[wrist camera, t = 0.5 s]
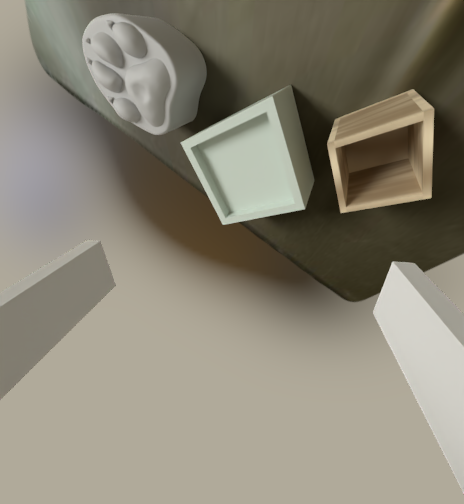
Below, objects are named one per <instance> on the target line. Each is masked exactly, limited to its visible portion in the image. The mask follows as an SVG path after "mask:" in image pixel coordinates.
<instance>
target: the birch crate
mask: <svg viewBox="0 0 464 504" xmlns="http://www.w3.org/2000/svg"><path fill="white" fill-rule="evenodd" d="M433 133H434V108H433V107H432V106H431V105H430V104H429V103H428V102H427V101H426V100H424V99H423V98H422V97H421V96H420V95H419V94H418V93H417V92H416V91H415V90H414V89H412V90H410V91H407V92H404V93H402V94H399V95H397V96H394V97H391V98H389V99H386V100H384V101H381V102H378V103H376V104H373V105H371V106H368V107H365V108H363V109H360V110H357V111H355V112H352V113H350V114H347V115H344V116H342V117H339V118H337V119H335V121H334V124H333V127H332V130H331V133H330V137H329V140H328V143H327V147H328V152H329V157H330V162H331V167H332V172H333V177H334V182H335V187H336V192H337V197H338V202H339V207H340V212H341V213H345V212H351V211H357V210H363V209H369V208H375V207H381V206H387V205H393V204H399V203H405V202H411V201H417V200H423V199H429V198H431V197H432V165H433Z"/></svg>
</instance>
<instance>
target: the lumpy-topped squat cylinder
mask: <svg viewBox="0 0 464 504" xmlns="http://www.w3.org/2000/svg"><path fill="white" fill-rule="evenodd" d="M82 43H83V51H84V56H85V59H86V62H87V65H88V68H89V70H90V72H91V74H92V77H93V79H94V81H95V83H96V84H97V86H98V88H99V89H100V91H101V92H102V94H103V95H104V96H105V98H106V99H107V100H108V102H109V103H110V104H111V106H112V107H113V108H114V109H115V111H116V112H117V114H118V115H119V116H120V117H121V118H123V119H124V120H126V121H130V122H132V123H133V124H135V125H137V126H138V127H140V128H142V129H144V130H145V131H147V132H149V133H152V134H154V135H162V134H165V133H167V132H169V131H172V130H174V129H176V128H178V127H180V126H183V125H185V124H187V123H189V122H191V121H193V120H194V119H195V117H196V115H197V110H198V103H199V97H200V94H201V91H202V89H203V87H204V84H205V81H206V76H207V69H206V64H205V61H204V58H203V56H202V54H201V52H200V50H199V49H198V48H197V46H196V45H195V44H194V43H193V42H192V41H191V40H189V39H188V38H187V37H186V36H185V35H183V34H182V33H181V32H180V31H178V30H177V29H176V28H174V27H173V26H171V25H169V24H168V23H166V22H164V21H162V20H160V19H158V18H152V17H143V16H134V15H126V14H117V13H113V14H106V15H102V16H99V17H96V18H95V19H93V20H92V21H91V22H90V23H89V25H88V26H87V28H86V30H85V32H84V34H83V40H82Z"/></svg>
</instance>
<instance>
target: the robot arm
mask: <svg viewBox="0 0 464 504" xmlns="http://www.w3.org/2000/svg"><path fill="white" fill-rule="evenodd" d="M115 286H116V285H115V282H114V279H113V276H112V273H111V270H110V268H109V265H108V262H107V259H106V256H105V253H104V250H103V247H102V244H101V241H91V240H86V241H85V242H83V243H81V244H80V245H78V246H77V247H75V248H73V249H71V250H70V251H68V252H66V253H65V254H63V255H61V256H60V257H58V258H56V259H55V260H53V261H51V262H50V263H49V264H46V265H45V266H43V267H42V268H40V269H38V270H37V271H35V272H33V273H32V274H30V275H28V276H27V277H25V278H23V279H22V280H20V281H18V282H17V283H15V284H13V285H12V286H10V287H8V288H7V289H5V290H4V291H2V292H0V400H1V398H3V397H4V396H5V394H7V393H8V392H9V391H10V390H11V389H12V388H13V387H14V386H15V385H16V383H18V382H19V381H20V380H21V379H22V378H23V377H24V376H25V375H26V374H27V373H28V372H29V371H30V370H31V369H32V368H33V367H34V366H35V365H36V364H37V363H38V362H39V361H40V360H41V359H42V358H43V357H44V356H45V355H46V354H47V353H48V352H49V351H50V350H51V349H52V348H53V347H54V346H55V345H56V344H57V343H58V342H59V341H60V340H61V339H62V338H63V337H64V336H65V335H66V334H67V333H68V332H69V331H70V330H71V329H72V328H73V327H74V326H75V325H76V324H77V323H78V322H79V321H80V320H81V319H82V318H83V317H84V316H85V315H86V314H87V313H88V312H89V311H90V310H91V309H93V308H94V307H95V306H96V305H97V303H98V302H100V301H101V300H102V299H103V298H104V297H105V296H106V295H107V294H108V293H109V292H110V290H112V289H113V288H114V287H115ZM373 314H374V316H375V318H376V320H377V322H378V324H379V326H380V328H381V330H382V332H383V334H384V336H385V338H386V340H387V342H388V344H389V346H390V348H391V350H392V352H393V354H394V356H395V358H396V360H397V362H398V364H399V366H400V368H401V370H402V372H403V374H404V376H405V378H406V380H407V382H408V384H409V386H410V388H411V390H412V392H413V394H414V396H415V398H416V400H417V402H418V404H419V406H420V408H421V410H422V412H423V414H424V416H425V418H426V420H427V422H428V424H429V426H430V428H431V430H432V432H433V434H434V436H435V438H436V440H437V442H438V444H439V446H440V448H441V450H442V452H443V454H444V456H445V458H446V460H447V462H448V464H449V466H450V468H451V470H452V472H453V474H454V476H455V478H456V480H457V482H458V484H459V486H460V487H461V490H462V492H463V494H464V313H463V312H462V311H461V310H460V309H459V308H458V307H457V306H456V305H455V304H454V303H453V302H452V301H451V300H450V299H449V298H448V297H447V296H446V295H445V294H444V293H443V292H442V291H441V290H440V289H439V288H438V287H437V286H436V285H435V284H434V283H433V282H432V281H431V280H430V279H429V278H428V277H427V276H426V275H425V274H424V273H423V271H422V270H421V269H420V268H419V267H418V266H417V265H416V264H415V263H407V262H392V265H391V267H390V270H389V272H388V275H387V277H386V280H385V282H384V285H383V288H382V290H381V293H380V295H379V298H378V300H377V303H376V305H375V308H374V311H373Z"/></svg>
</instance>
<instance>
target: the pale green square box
mask: <svg viewBox="0 0 464 504" xmlns="http://www.w3.org/2000/svg"><path fill="white" fill-rule="evenodd" d="M181 144H182V146H183V148H184V150H185V152H186V154H187V156H188V158H189V160H190V162H191V164H192V166H193V168H194V170H195V172H196V173H197V175H198V177H199V179H200V181H201V183H202V185H203V187H204V189H205V191H206V193H207V195H208V197H209V199H210V201H211V202H212V204H213V206H214V208H215V210H216V212H217V214H218V216H219V218H220V220H221V222H222V224H223V225H225V224H230V223H235V222H241V221H246V220H251V219H256V218H262V217H267V216H272V215H278V214H283V213H288V212H293V211H299V210H304V209H305V208H306V205H307V202H308V199H309V196H310V193H311V190H312V187H313V184H314V181H315V180H314V176H313V172H312V168H311V164H310V159H309V155H308V151H307V147H306V143H305V139H304V135H303V131H302V127H301V123H300V119H299V115H298V111H297V107H296V102H295V98H294V94H293V90H292V86H291V85H289V86H287V87H285V88H283V89H281V90H279V91H277V92H275V93H273V94H271V95H270V96H268V97H266V98H264V99H262V100H260V101H258V102H256V103H254V104H252V105H250V106H248V107H246V108H244V109H242V110H240V111H238V112H236V113H235V114H233V115H231V116H229V117H227V118H225V119H223V120H221V121H219V122H217V123H215V124H213V125H211V126H209V127H208V128H206V129H204V130H202V131H201V132H199V133H197V134H195V135H193V136H192V137H190V138H188V139H186V140H185V141H183V142H181Z"/></svg>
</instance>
